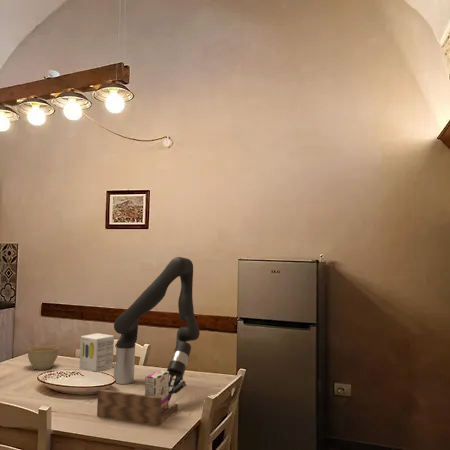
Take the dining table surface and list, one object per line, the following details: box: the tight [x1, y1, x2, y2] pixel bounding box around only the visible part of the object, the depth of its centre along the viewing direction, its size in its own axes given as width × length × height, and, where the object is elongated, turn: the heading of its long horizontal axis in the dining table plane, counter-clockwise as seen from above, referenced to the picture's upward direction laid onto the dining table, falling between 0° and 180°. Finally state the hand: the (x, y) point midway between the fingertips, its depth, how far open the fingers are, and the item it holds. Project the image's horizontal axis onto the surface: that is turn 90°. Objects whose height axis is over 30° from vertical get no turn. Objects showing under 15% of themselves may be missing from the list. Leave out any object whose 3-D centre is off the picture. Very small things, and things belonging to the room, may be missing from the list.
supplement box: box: [79, 332, 115, 372], centre depth 259 cm, size 13×13×18 cm
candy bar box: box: [144, 369, 170, 414], centre depth 189 cm, size 11×5×16 cm, turn 157°
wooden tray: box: [96, 389, 179, 426], centre depth 190 cm, size 27×18×10 cm, turn 72°
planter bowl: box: [27, 344, 60, 371], centre depth 256 cm, size 16×16×11 cm
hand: (165, 401), depth 194 cm, fingers closed
